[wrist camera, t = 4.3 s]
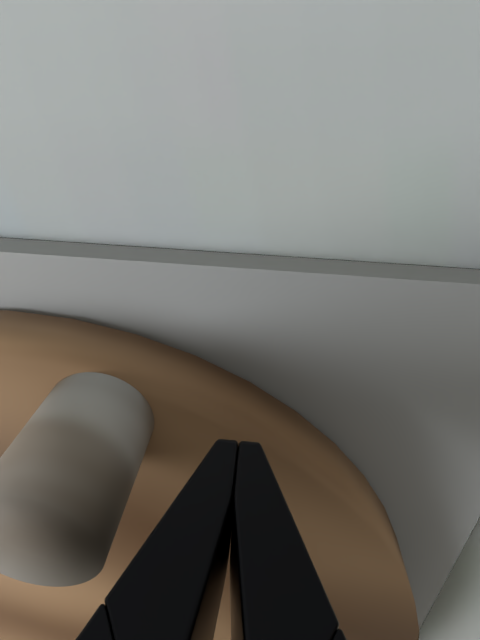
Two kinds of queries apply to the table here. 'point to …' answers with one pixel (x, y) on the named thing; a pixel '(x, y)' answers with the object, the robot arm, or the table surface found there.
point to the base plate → (309, 359)
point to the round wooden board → (159, 477)
